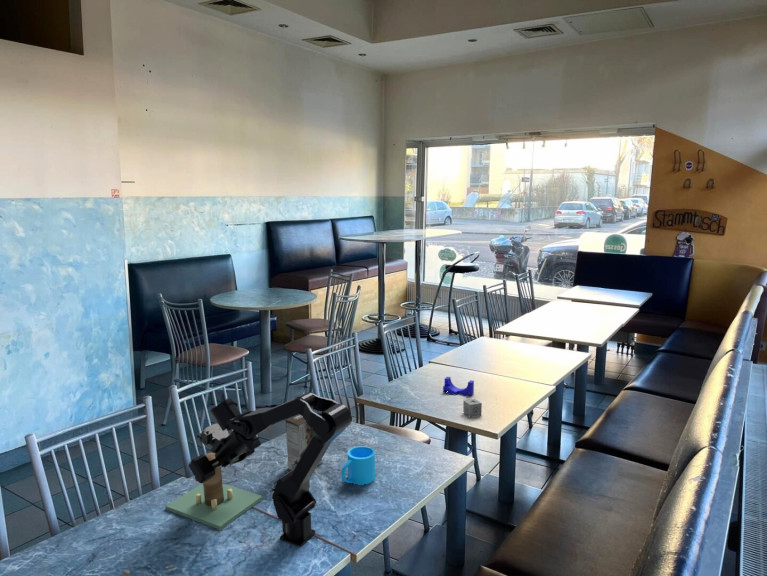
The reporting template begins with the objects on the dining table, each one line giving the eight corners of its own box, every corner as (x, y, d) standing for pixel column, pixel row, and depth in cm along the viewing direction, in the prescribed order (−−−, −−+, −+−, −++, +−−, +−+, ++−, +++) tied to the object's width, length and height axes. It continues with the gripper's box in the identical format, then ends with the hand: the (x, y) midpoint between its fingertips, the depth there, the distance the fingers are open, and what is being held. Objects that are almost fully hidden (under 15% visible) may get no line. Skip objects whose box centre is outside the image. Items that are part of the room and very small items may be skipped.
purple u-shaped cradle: (443, 393, 234) (443, 379, 233) (447, 389, 238) (447, 376, 237) (470, 397, 228) (470, 383, 227) (473, 394, 232) (473, 380, 231)
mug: (361, 468, 170) (361, 443, 169) (381, 477, 164) (380, 452, 163) (332, 483, 161) (331, 457, 160) (351, 493, 156) (351, 466, 154)
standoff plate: (262, 499, 153) (261, 487, 153) (220, 530, 139) (219, 517, 139) (210, 482, 163) (209, 471, 162) (165, 509, 149) (164, 497, 148)
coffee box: (308, 457, 177) (306, 410, 175) (322, 463, 173) (321, 415, 171) (286, 468, 170) (284, 419, 168) (301, 475, 166) (299, 424, 164)
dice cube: (481, 415, 210) (481, 402, 209) (469, 417, 208) (470, 404, 207) (474, 410, 214) (474, 398, 214) (463, 412, 213) (463, 400, 212)
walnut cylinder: (226, 502, 150) (222, 458, 147) (207, 508, 147) (202, 463, 145) (221, 493, 154) (217, 450, 152) (203, 499, 152) (198, 455, 149)
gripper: (244, 406, 153) (219, 435, 160) (190, 431, 137) (164, 462, 144) (267, 439, 150) (240, 467, 157) (215, 468, 134) (187, 498, 141)
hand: (209, 472), depth 150 cm, fingers open, 9 cm apart
